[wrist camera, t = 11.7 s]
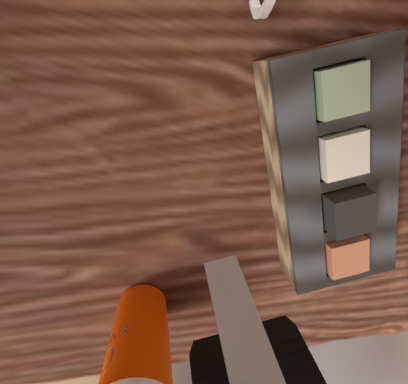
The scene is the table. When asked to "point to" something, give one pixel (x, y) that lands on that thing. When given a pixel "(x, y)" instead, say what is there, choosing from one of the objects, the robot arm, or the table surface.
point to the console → (309, 159)
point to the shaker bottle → (139, 340)
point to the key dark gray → (349, 212)
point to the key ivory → (344, 154)
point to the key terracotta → (347, 257)
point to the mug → (261, 8)
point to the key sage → (342, 89)
